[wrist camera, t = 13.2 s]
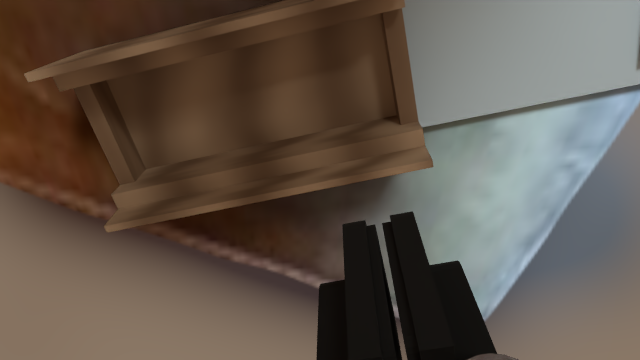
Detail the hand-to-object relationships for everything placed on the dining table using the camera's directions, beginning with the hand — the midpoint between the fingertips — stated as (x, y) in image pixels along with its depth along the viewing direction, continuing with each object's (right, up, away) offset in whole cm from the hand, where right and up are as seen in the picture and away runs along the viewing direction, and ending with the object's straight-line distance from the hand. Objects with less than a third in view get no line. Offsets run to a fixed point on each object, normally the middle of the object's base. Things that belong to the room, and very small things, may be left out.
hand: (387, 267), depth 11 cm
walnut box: (-6, +9, +22) cm, 24 cm away
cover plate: (+13, +12, +20) cm, 27 cm away
